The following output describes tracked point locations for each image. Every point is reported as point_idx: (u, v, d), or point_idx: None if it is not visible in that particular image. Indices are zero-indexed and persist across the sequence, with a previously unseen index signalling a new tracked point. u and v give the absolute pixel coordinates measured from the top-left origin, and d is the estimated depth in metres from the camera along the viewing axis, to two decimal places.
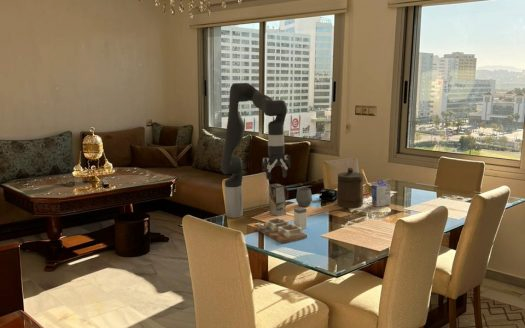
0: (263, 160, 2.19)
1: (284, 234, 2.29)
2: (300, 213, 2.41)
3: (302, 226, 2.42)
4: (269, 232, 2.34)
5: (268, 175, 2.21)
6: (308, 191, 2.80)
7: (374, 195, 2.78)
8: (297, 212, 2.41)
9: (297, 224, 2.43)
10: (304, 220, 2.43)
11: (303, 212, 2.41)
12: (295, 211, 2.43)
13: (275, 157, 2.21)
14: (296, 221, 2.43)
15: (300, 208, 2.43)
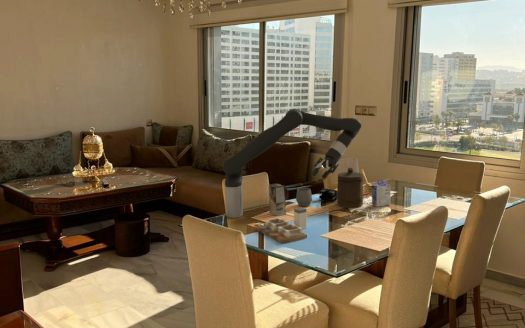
0: (336, 164, 2.41)
1: (284, 234, 2.29)
2: (300, 213, 2.41)
3: (302, 226, 2.42)
4: (269, 232, 2.34)
5: (327, 175, 2.41)
6: (308, 191, 2.80)
7: (374, 195, 2.78)
8: (297, 212, 2.41)
9: (297, 224, 2.43)
10: (304, 220, 2.43)
11: (303, 212, 2.41)
12: (295, 211, 2.43)
13: None
14: (296, 221, 2.43)
15: (300, 208, 2.43)
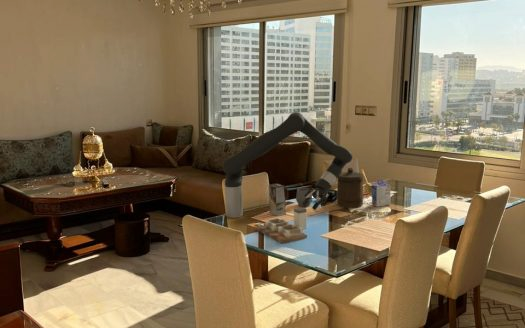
0: (326, 195, 2.42)
1: (284, 234, 2.29)
2: (300, 213, 2.41)
3: (302, 226, 2.42)
4: (269, 232, 2.34)
5: (317, 206, 2.42)
6: None
7: (374, 195, 2.78)
8: (297, 212, 2.41)
9: (297, 224, 2.43)
10: (304, 220, 2.43)
11: (303, 212, 2.41)
12: (295, 211, 2.43)
13: None
14: (296, 221, 2.43)
15: (300, 208, 2.43)
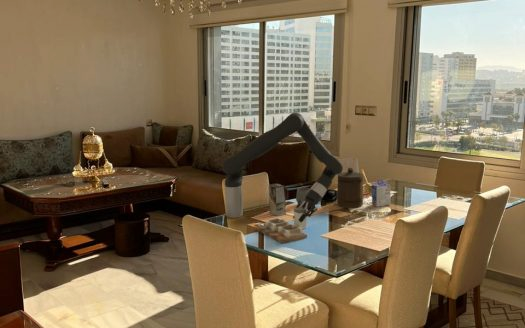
0: (314, 208, 2.39)
1: (284, 234, 2.29)
2: (300, 213, 2.41)
3: (302, 226, 2.42)
4: (269, 232, 2.34)
5: (304, 218, 2.41)
6: (308, 191, 2.80)
7: (374, 195, 2.78)
8: (297, 212, 2.41)
9: (297, 224, 2.43)
10: (304, 220, 2.43)
11: (303, 212, 2.41)
12: (295, 211, 2.43)
13: None
14: (296, 221, 2.43)
15: (300, 208, 2.43)
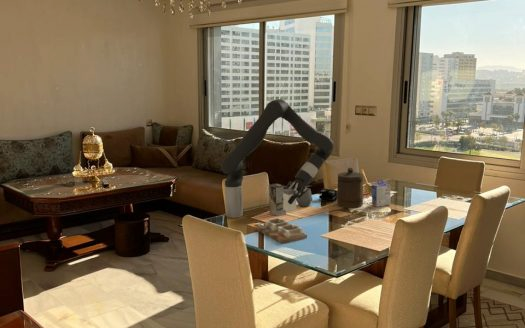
0: (304, 189, 2.24)
1: (284, 234, 2.29)
2: (290, 194, 2.26)
3: (292, 208, 2.28)
4: (269, 232, 2.34)
5: (293, 200, 2.26)
6: (308, 191, 2.80)
7: (374, 195, 2.78)
8: (286, 193, 2.26)
9: (286, 206, 2.28)
10: (294, 202, 2.28)
11: None
12: (284, 192, 2.28)
13: None
14: (285, 203, 2.28)
15: (289, 189, 2.28)
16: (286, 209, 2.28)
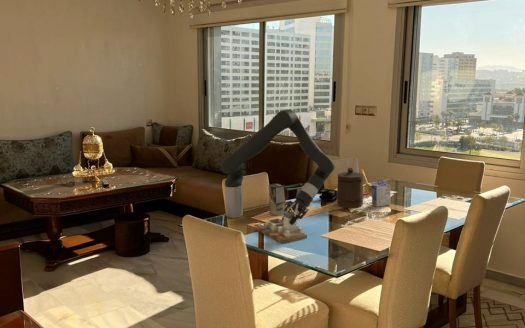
0: (305, 210, 2.26)
1: (284, 234, 2.29)
2: (290, 218, 2.28)
3: None
4: (269, 232, 2.34)
5: None
6: None
7: (374, 195, 2.78)
8: (286, 217, 2.29)
9: None
10: (294, 225, 2.30)
11: None
12: (284, 216, 2.30)
13: None
14: (285, 226, 2.31)
15: (290, 213, 2.31)
16: None
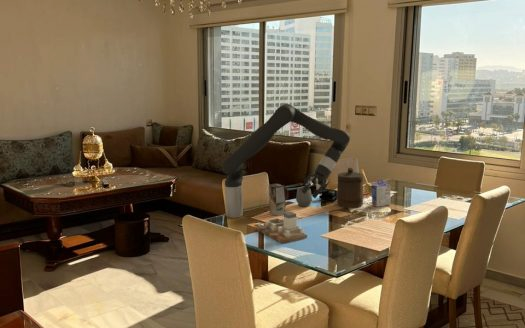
0: (326, 182, 2.32)
1: (284, 234, 2.29)
2: (290, 218, 2.28)
3: None
4: (269, 232, 2.34)
5: (317, 194, 2.33)
6: (308, 191, 2.80)
7: (374, 195, 2.78)
8: (286, 217, 2.29)
9: None
10: (294, 225, 2.30)
11: (293, 217, 2.29)
12: (284, 216, 2.30)
13: None
14: (285, 226, 2.31)
15: (290, 213, 2.31)
16: None
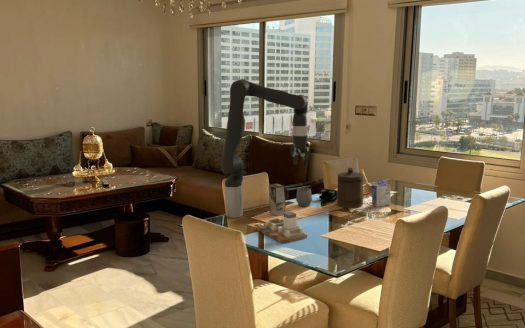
0: (307, 149, 2.41)
1: (284, 234, 2.29)
2: (290, 218, 2.28)
3: None
4: (269, 232, 2.34)
5: None
6: (308, 191, 2.80)
7: (374, 195, 2.78)
8: (286, 217, 2.29)
9: None
10: (294, 225, 2.30)
11: (293, 217, 2.29)
12: (284, 216, 2.30)
13: None
14: (285, 226, 2.31)
15: (290, 213, 2.31)
16: None
